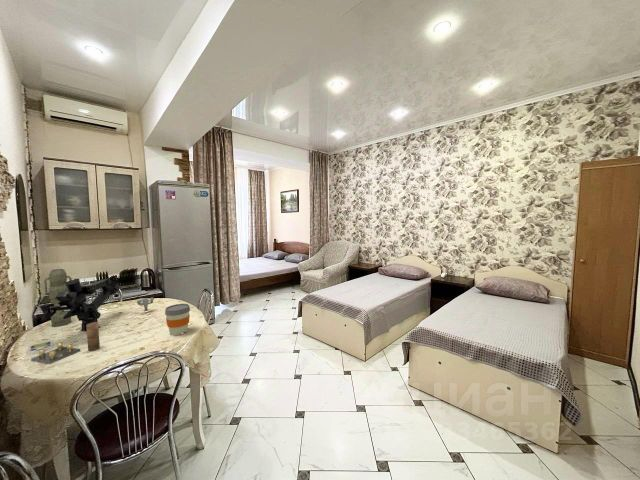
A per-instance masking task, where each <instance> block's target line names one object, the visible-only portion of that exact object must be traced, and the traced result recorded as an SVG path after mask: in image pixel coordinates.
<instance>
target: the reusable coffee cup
mask: <svg viewBox="0 0 640 480" xmlns="http://www.w3.org/2000/svg"><path fill="white" fill-rule="evenodd" d="M164 310H165V311H164V313H165V321H166V325H167V328H168V332H169V335H170V336H172V335H178V336H180V335H179V334H182V333H184V332H186V331H187V332H188V329H189V328H188V327H189V323H190V315H191V314H190V311H191V309H190V304H189V303H176V304H172V305H170V306H169V305H168V306H167V307H165V309H164ZM187 332H186V333H187ZM184 334H185V333H184ZM182 335H183V334H182Z"/></svg>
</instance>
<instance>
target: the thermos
mask: <svg viewBox="0 0 640 480" xmlns="http://www.w3.org/2000/svg"><path fill="white" fill-rule="evenodd" d="M48 280H49V288H48V287H47V286H48V285H47V284H48V283H47V281H48ZM70 280H73V277H71V276H70V275H67V271H66V270H65V269H63V268H57V269H52V270H50V272H49V274H48V277H46V278H45V279H44V280H43V281H44V291H45V292H44V293H45V295H46V296H48V297H49V299H50V300H49V301H50V304H54V306H60V305H59V304H58V302H60V301H58V300H57V299H56V298H55V297H56V296H57V295H58V293H59V292H68V290H67V288H66V285H65V283H66V282H67V281H70ZM67 313H68V312H63V311H62V310H56V313H55V314H54V315H53V316H52V317H50V322H51V327H53V328H56V327H57V328H58V327H62V326H66V325H70V324H71V323H72V317H69V318H67V319H63V317H64V316H65V315H66V314H67Z"/></svg>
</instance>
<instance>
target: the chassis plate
mask: <svg viewBox="0 0 640 480" xmlns="http://www.w3.org/2000/svg"><path fill="white" fill-rule="evenodd" d="M63 343H64V342H58V343H56V349H51V350H49V351H45V349H42V350H39V353H38V355H37V356H34V357H31V358H30V359H31V360H30V361H31V362H35V361H37V362H36V363H41V362H42V364H49V365H51V364H53V363H55V362H58V361H60V360H62V359H64V358H67V357H69V356H72V355H74V354H76V353H79V352H81V348H76V347H73V343H70V344H67V345H66V346H64V344H63Z"/></svg>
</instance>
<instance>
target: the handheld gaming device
mask: <svg viewBox="0 0 640 480" xmlns="http://www.w3.org/2000/svg"><path fill="white" fill-rule="evenodd" d="M53 346H54V339H49V340H46V341H43V342H42V341H41V342H37V343H33V344H28V346H27V350H26V354H25V356H26V355H28V356H31V354H32V355H36V354H39V350H42V349H45V352H49V351H52V350H54V349H53V348H54V347H53Z"/></svg>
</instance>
